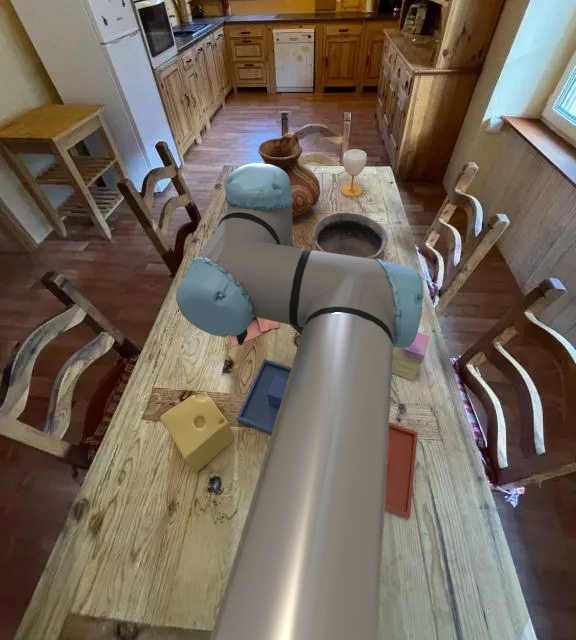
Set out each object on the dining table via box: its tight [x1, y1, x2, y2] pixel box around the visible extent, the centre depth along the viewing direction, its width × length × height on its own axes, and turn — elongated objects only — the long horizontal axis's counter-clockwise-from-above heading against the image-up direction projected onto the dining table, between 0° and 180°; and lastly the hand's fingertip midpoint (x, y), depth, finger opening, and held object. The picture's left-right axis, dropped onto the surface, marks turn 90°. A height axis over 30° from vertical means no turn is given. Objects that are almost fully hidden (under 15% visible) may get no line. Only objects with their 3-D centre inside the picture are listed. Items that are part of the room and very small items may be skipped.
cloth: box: [228, 317, 280, 347], centre depth 97 cm, size 20×22×2 cm
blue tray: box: [236, 358, 292, 436], centre depth 78 cm, size 15×15×2 cm
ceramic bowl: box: [310, 211, 389, 261], centre depth 103 cm, size 22×22×15 cm
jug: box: [257, 132, 321, 218], centre depth 127 cm, size 30×30×25 cm
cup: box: [340, 148, 368, 197], centre depth 135 cm, size 9×9×16 cm
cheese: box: [159, 391, 235, 474], centre depth 70 cm, size 10×11×10 cm
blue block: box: [267, 376, 288, 409], centre depth 77 cm, size 4×4×6 cm
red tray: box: [384, 422, 419, 520], centre depth 69 cm, size 15×15×2 cm
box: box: [392, 332, 430, 382], centre depth 81 cm, size 10×6×12 cm, turn 65°
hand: (276, 349), depth 63 cm, fingers open, 13 cm apart
